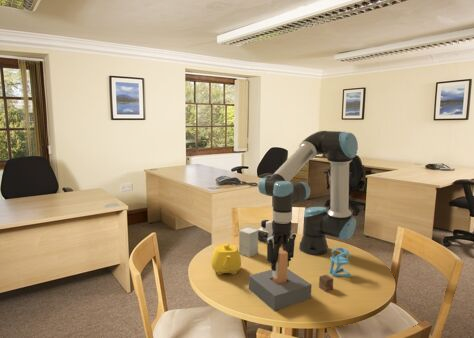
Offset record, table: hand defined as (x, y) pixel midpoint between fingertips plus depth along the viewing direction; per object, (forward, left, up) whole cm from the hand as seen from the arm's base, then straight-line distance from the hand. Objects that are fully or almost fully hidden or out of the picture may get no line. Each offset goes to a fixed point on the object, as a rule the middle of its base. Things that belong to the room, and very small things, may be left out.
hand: (279, 275), depth 139 cm
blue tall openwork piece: (-35, -1, -8) cm, 36 cm away
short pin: (-20, +6, -8) cm, 22 cm away
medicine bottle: (-28, -50, -8) cm, 58 cm away
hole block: (0, 0, -8) cm, 8 cm away
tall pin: (0, 0, -6) cm, 6 cm away
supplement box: (-10, -40, -8) cm, 42 cm away
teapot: (+10, -27, -8) cm, 30 cm away
